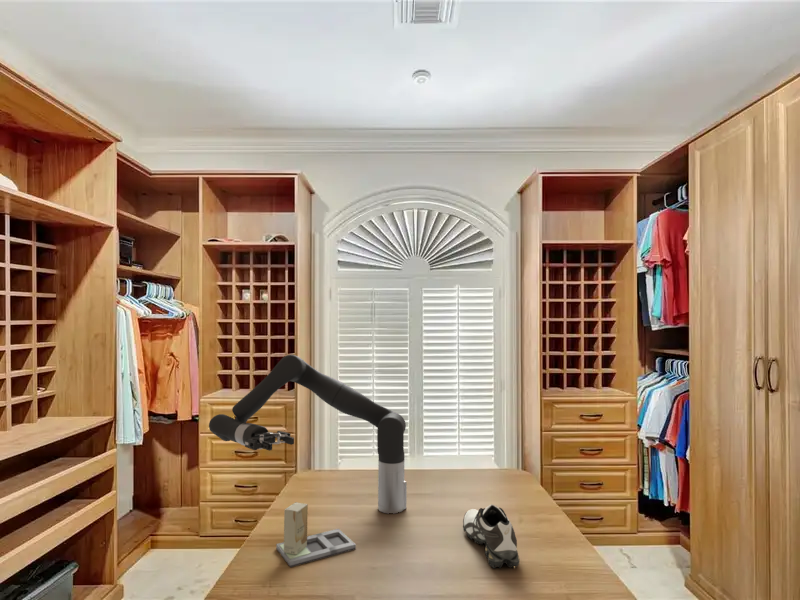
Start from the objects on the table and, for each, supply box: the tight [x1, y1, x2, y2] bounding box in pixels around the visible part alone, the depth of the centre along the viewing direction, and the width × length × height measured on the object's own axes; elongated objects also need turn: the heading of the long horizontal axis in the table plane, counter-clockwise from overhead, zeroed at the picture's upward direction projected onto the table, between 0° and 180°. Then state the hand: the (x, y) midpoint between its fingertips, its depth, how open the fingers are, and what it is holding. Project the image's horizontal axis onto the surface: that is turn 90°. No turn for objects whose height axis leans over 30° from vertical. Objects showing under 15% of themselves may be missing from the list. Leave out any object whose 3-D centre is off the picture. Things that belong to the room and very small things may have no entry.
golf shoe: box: [462, 504, 520, 569], centre depth 151 cm, size 12×30×14 cm, turn 15°
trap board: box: [275, 528, 357, 568], centre depth 148 cm, size 20×12×2 cm, turn 122°
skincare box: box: [283, 502, 309, 555], centre depth 144 cm, size 6×4×12 cm
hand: (282, 444), depth 158 cm, fingers open, 8 cm apart
